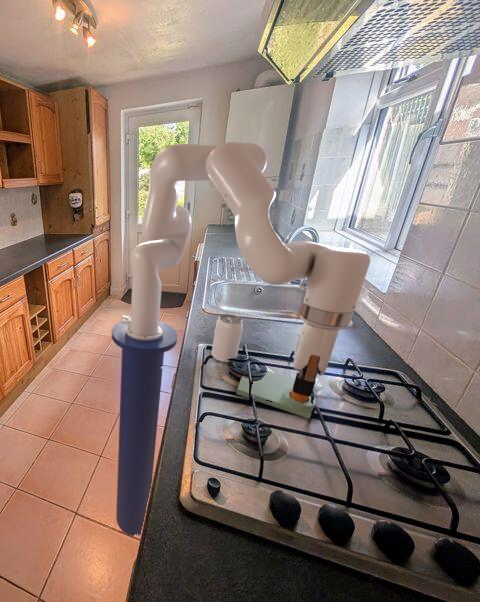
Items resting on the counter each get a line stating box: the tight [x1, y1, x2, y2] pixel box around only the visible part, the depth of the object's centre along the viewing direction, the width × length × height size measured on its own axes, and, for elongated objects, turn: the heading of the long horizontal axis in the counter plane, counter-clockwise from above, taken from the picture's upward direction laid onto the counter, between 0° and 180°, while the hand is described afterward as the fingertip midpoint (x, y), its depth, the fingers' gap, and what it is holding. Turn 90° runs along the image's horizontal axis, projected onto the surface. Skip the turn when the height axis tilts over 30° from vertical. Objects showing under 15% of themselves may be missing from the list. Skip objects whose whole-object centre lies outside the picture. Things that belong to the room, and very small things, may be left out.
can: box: [211, 313, 244, 364], centre depth 82 cm, size 6×6×12 cm
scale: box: [235, 370, 317, 420], centre depth 70 cm, size 14×12×3 cm
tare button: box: [290, 389, 308, 402], centre depth 64 cm, size 3×3×2 cm
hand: (301, 392), depth 64 cm, fingers closed
